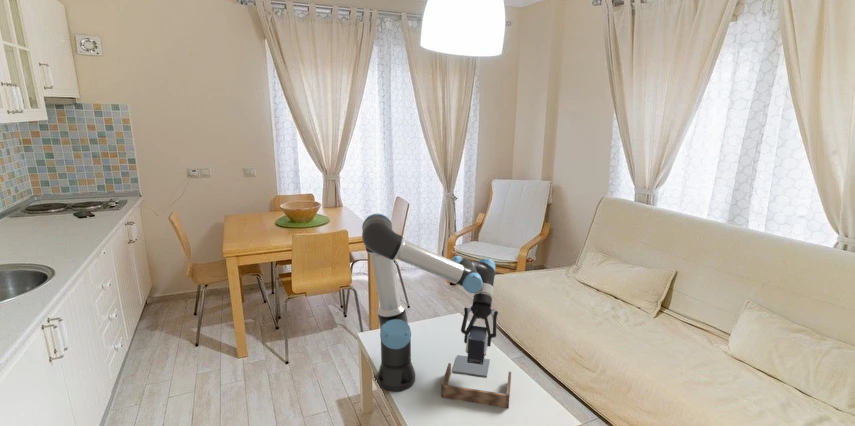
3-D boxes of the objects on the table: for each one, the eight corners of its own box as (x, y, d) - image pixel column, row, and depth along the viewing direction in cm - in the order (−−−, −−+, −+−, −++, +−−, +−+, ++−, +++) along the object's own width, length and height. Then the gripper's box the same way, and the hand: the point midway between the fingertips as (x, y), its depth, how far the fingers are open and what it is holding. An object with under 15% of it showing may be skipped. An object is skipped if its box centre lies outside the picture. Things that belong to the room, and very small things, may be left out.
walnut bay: (440, 397, 162) (441, 385, 161) (448, 373, 176) (448, 363, 175) (508, 408, 156) (509, 396, 155) (510, 382, 171) (511, 371, 169)
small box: (483, 365, 164) (484, 341, 161) (466, 363, 165) (467, 339, 163) (486, 350, 174) (487, 326, 171) (470, 348, 175) (471, 324, 173)
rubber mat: (452, 372, 177) (452, 371, 177) (457, 356, 189) (457, 355, 188) (486, 377, 174) (486, 375, 174) (489, 360, 185) (489, 359, 185)
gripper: (507, 301, 177) (501, 359, 166) (460, 296, 182) (452, 352, 171) (506, 295, 171) (501, 354, 160) (458, 290, 176) (449, 347, 165)
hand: (476, 353), depth 165 cm, fingers closed on small box, 6 cm apart
